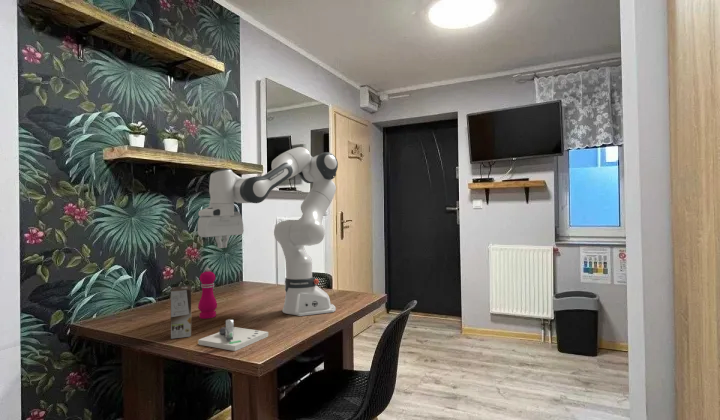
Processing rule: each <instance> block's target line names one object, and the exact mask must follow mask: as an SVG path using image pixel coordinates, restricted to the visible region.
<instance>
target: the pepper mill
mask: <svg viewBox="0 0 720 420" xmlns="http://www.w3.org/2000/svg"><path fill="white" fill-rule="evenodd" d="M199 281H200V282H201V284H200V288H201V290H202V291H201V297H200V299H199V301H198V306H197V308H198V310H199V311H200V312H199V319H203V320H204V319H205V320H206V319H212V318H215V317H216V316H217V312H216V311H215V310H216V309H217V308H218V302H217V299H216V297H215V294H214V287H215V283H214V282H215V281H216V274H215V273H214V272H213V271H211V268H209V267H206V268H205V271H203V272H201V273H200V276H199Z"/></svg>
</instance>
